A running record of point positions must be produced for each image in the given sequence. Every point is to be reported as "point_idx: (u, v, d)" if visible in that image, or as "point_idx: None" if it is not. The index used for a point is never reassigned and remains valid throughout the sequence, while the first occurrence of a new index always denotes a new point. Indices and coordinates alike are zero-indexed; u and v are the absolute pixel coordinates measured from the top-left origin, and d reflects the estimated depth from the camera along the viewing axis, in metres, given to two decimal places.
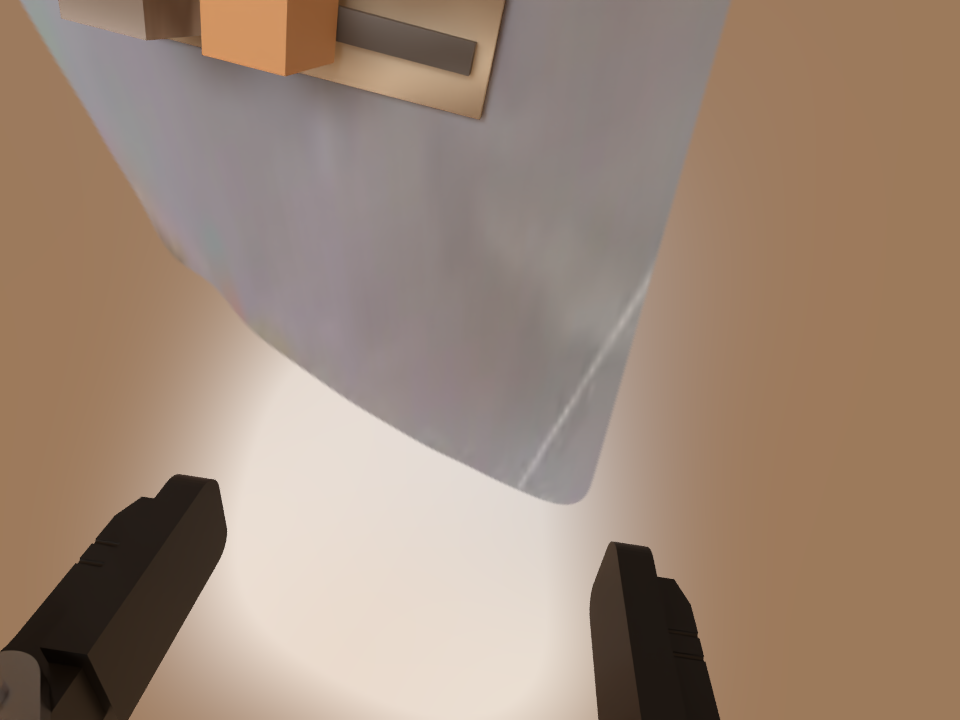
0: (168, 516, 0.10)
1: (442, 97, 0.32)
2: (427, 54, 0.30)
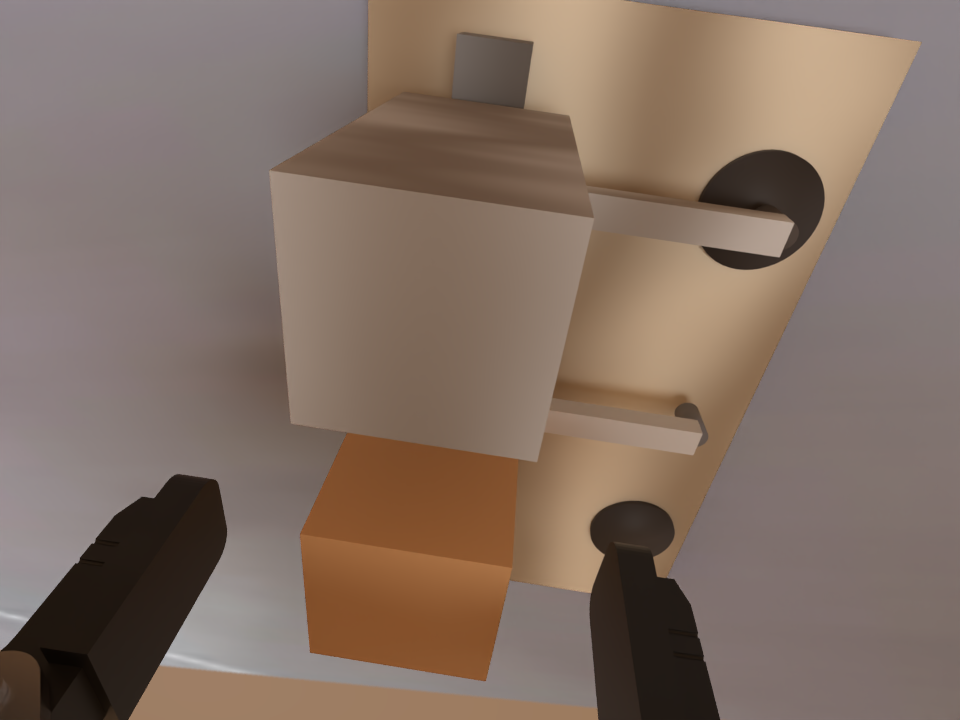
0: (168, 516, 0.10)
1: None
2: None
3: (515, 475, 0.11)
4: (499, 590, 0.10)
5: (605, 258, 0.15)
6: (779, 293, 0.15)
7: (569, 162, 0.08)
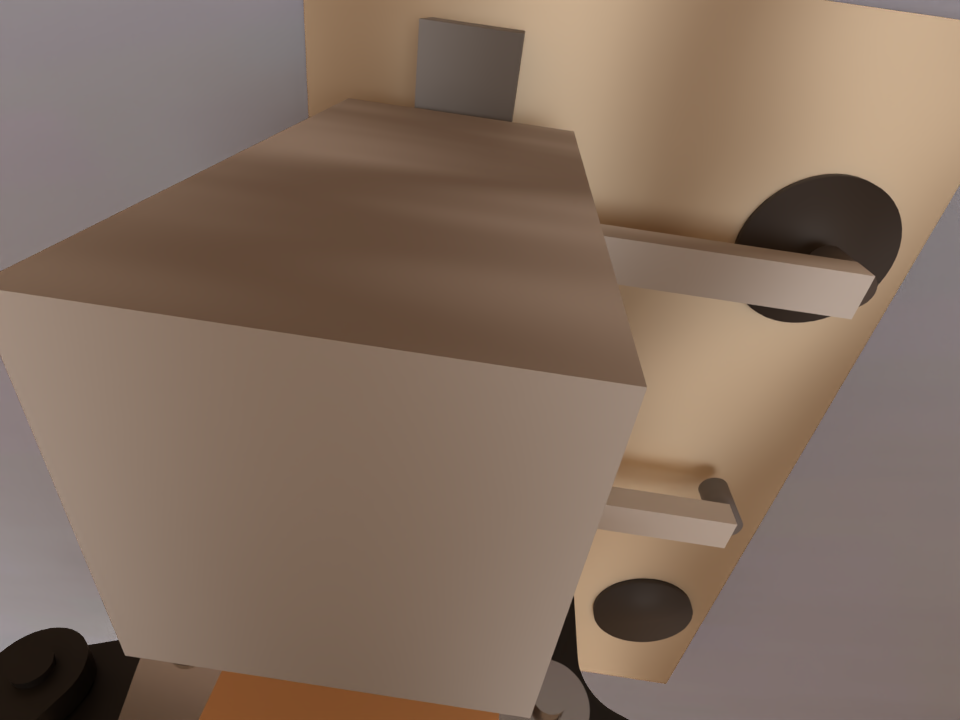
0: None
1: None
2: None
3: None
4: None
5: None
6: (833, 350, 0.12)
7: (581, 223, 0.05)
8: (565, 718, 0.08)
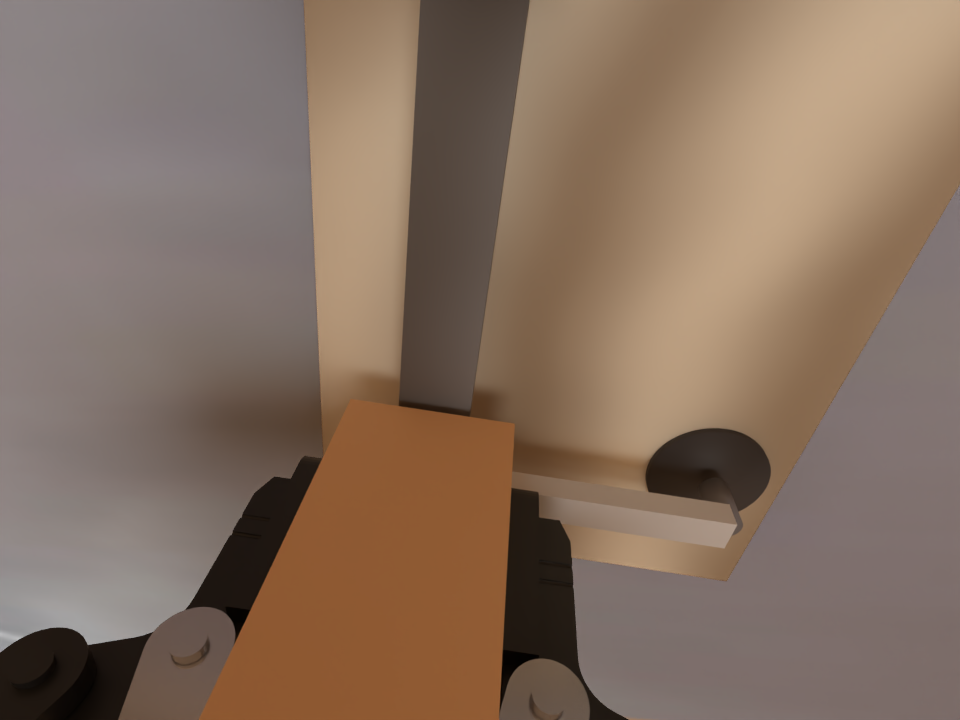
0: None
1: None
2: None
3: (500, 635, 0.08)
4: None
5: None
6: None
7: None
8: (565, 718, 0.08)
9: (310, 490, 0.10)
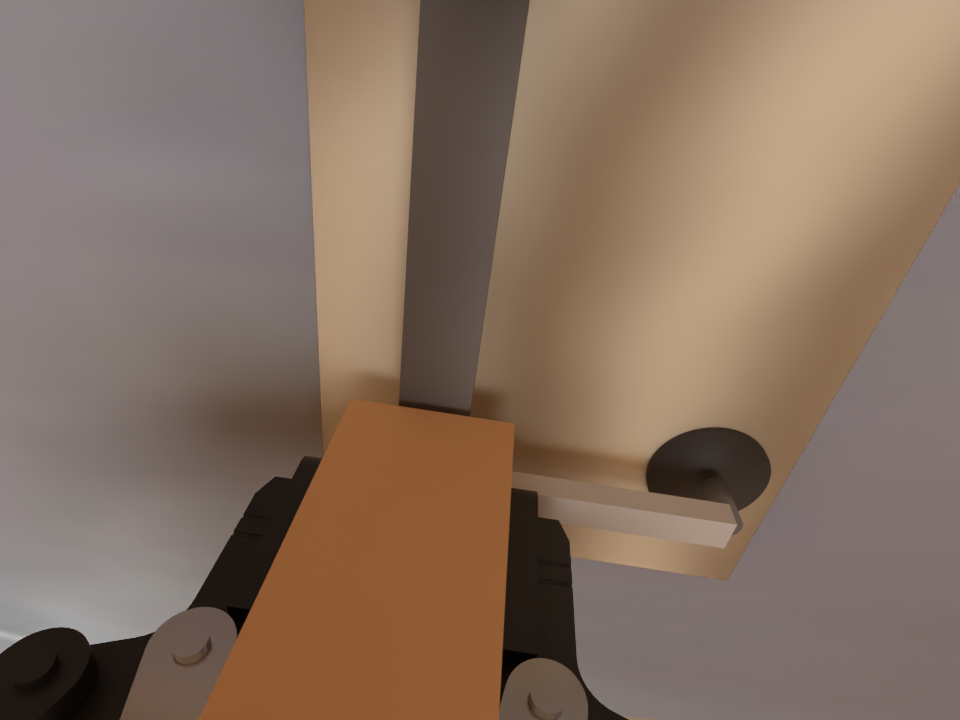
0: None
1: None
2: None
3: (500, 634, 0.08)
4: None
5: None
6: None
7: None
8: (564, 717, 0.08)
9: (310, 489, 0.10)
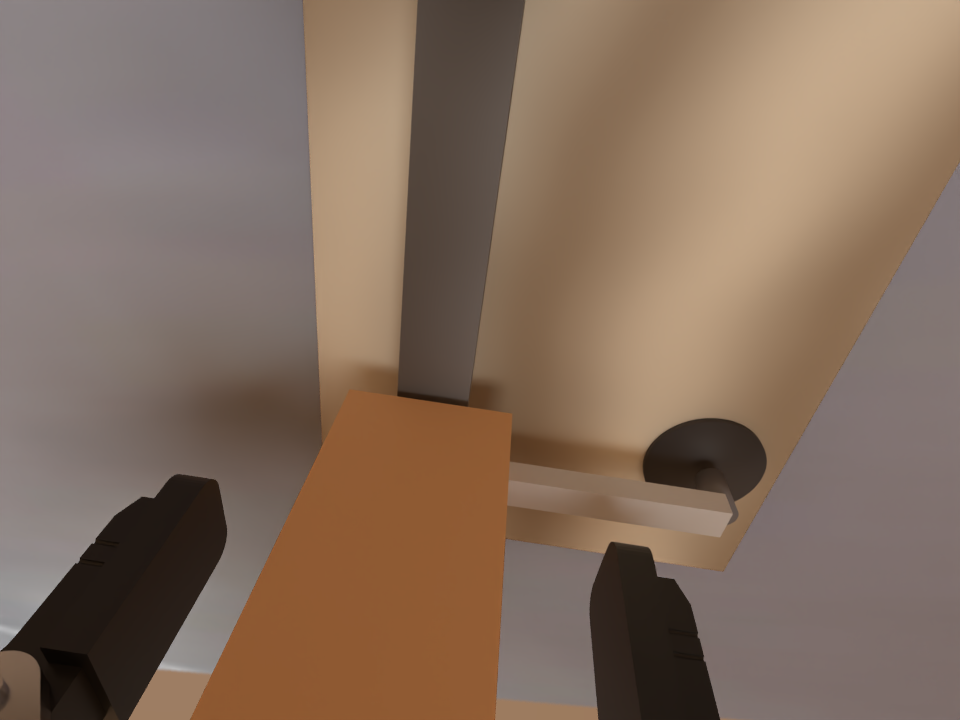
0: (168, 516, 0.10)
1: None
2: None
3: (498, 617, 0.08)
4: None
5: None
6: None
7: None
8: None
9: (310, 478, 0.10)
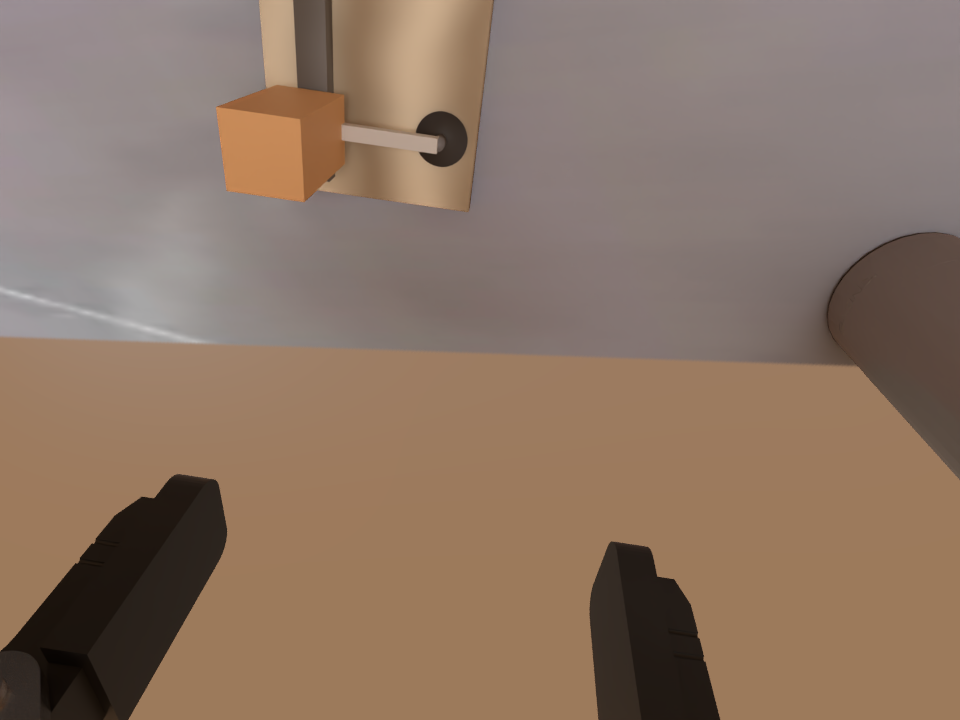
0: (168, 516, 0.10)
1: None
2: None
3: (315, 110, 0.26)
4: (297, 134, 0.24)
5: None
6: None
7: None
8: None
9: (257, 92, 0.27)
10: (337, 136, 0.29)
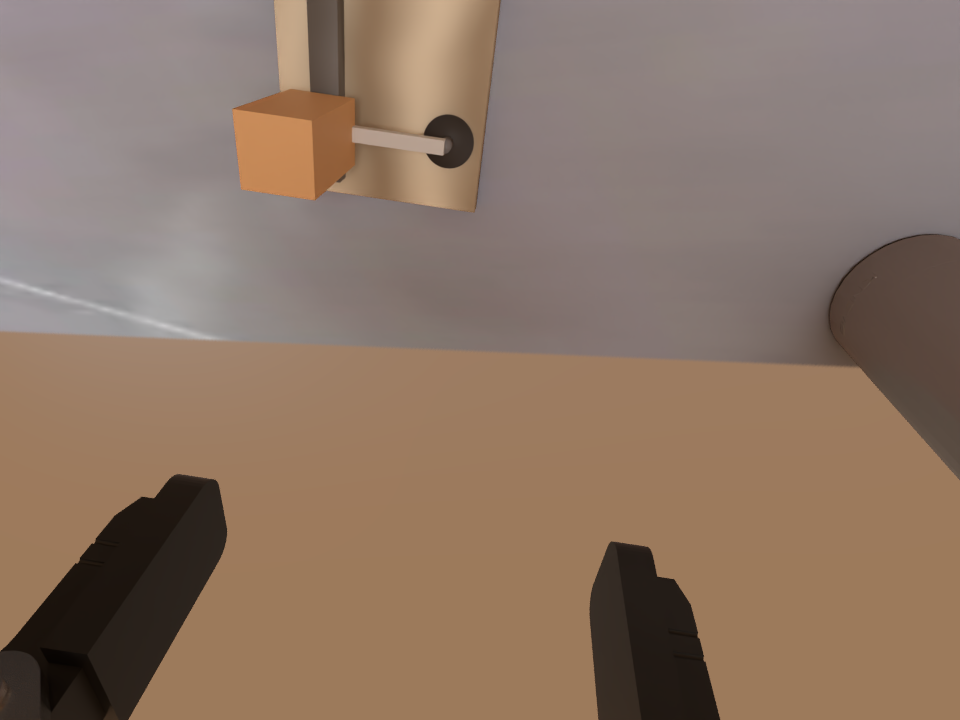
0: (168, 516, 0.10)
1: None
2: None
3: (326, 112, 0.27)
4: (309, 134, 0.25)
5: None
6: None
7: None
8: None
9: (271, 95, 0.28)
10: (347, 138, 0.31)
